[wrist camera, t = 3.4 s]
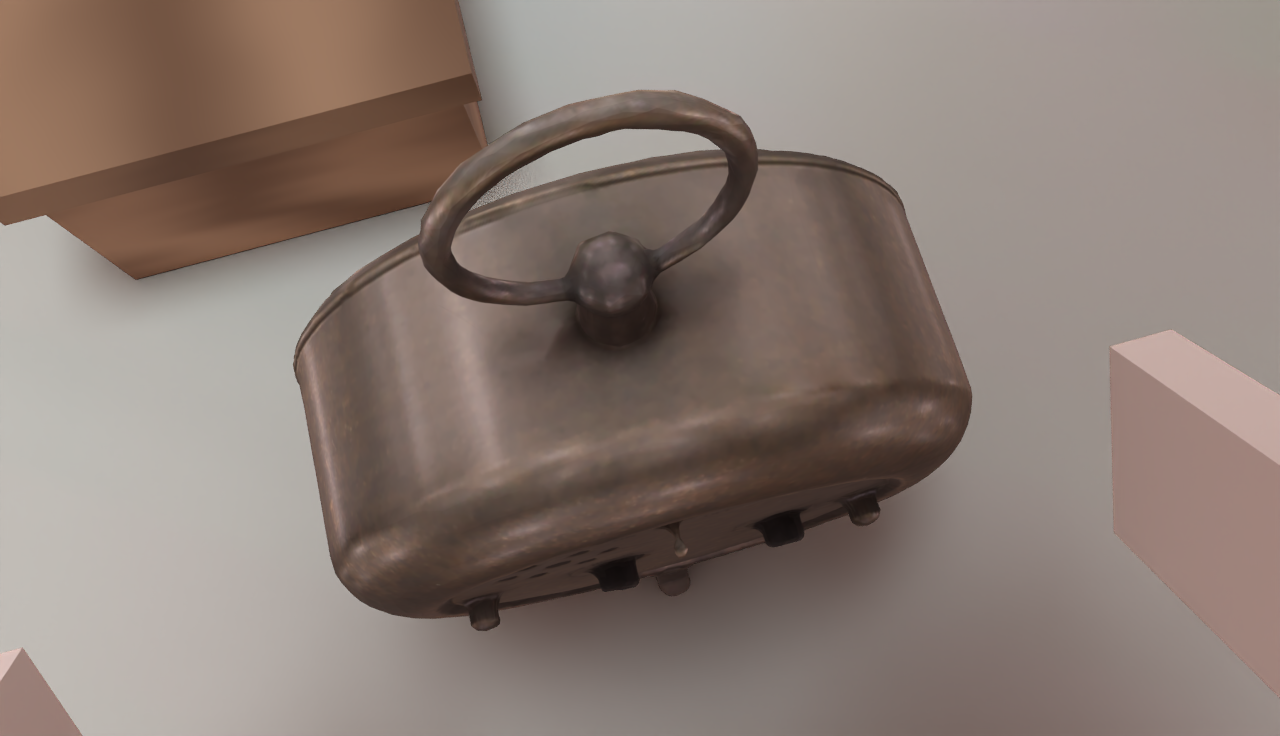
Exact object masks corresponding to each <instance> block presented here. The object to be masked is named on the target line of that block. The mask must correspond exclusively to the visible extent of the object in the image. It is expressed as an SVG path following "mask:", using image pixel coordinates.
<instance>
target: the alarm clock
mask: <svg viewBox="0 0 1280 736" xmlns="http://www.w3.org/2000/svg"><path fill="white" fill-rule="evenodd" d="M621 129H661V130H670V131H685V132H689V133H694V134H698V135H700V136H702V137H705V138H707V139H709V140H710V141H712V142H713V143H714V144H715V145H717V146H718V147H719V148H720V149H722V150H706V151H694V152H688V153H681V154H675V155H668V156H660V157H651V158H647V159H643V160H639V161H634V162H630V163H625V164H619V165H615V166H610V167H606V168H601V169H597V170H592V171H588V172H584V173H579V174H576V175H573V176H569V177H566V178H563V179H560V180H556V181H553V182H550V183H547V184H543V185H540V186H537V187H534V188H530V189H527V190H524V191H521V192H518V193H514V194H511V195H509V196H506V197H504V198H501V199H499V200H496V201H493V202H491V203H488V204H486V205H483V206H481V207H478V208H476V209H473V210H471V211H469V210H470V209H471V207H472V206H473V205H474V204H475V203H476V202H477V200H478V199H479V198H480V197H481V196H483V195H484V194H485V193H486V192H487V191H488V190H490V189H491V188H492V187H493V186H495V185H496V184H497V183H498V182H500V181H501V180H502V179H503V178H505V177H506V176H508V175H509V174H511V173H513V172H514V171H516V170H517V169H519V168H521V167H523V166H525V165H527V164H529V163H531V162H533V161H535V160H537V159H538V158H540V157H542V156H544V155H546V154H547V153H549V152H551V151H554V150H556V149H559V148H561V147H564V146H567V145H569V144H572V143H574V142H577V141H579V140H582V139H586V138H591V137H596V136H600V135H603V134H605V133H608V132H611V131H616V130H621ZM468 211H469V212H468ZM293 367H294V372H295V376H296V379H297V382H298V383H299V385H300V389H301V394H302V399H303V403H304V408H305V414H306V420H307V426H308V431H309V437H310V443H311V449H312V455H313V460H314V465H315V471H316V476H317V482H318V488H319V494H320V499H321V505H322V511H323V517H324V523H325V528H326V534H327V540H328V546H329V552H330V557H331V560H332V564H333V567H334V570H335V574H336V575H337V577H338V578H339V580H340V581H341V583H342V584H343V585H344V586H345V587H346V588H347V589H348V590H349V591H350V592H351V593H352V594H353V595H354V596H355V597H356V598H357V599H359V600H360V601H361V602H363V603H365V604H367V605H368V606H370V607H373V608H375V609H378V610H381V611H383V612H386V613H389V614H392V615H397V616H403V617H410V618H428V619H436V618H447V617H460V616H468V615H470V621H471V626H472V627H474V628H475V629H476V630H478V631H488V630H490V629H492V628H494V627H497V626H498V625H499V624H500V617H499V614H498V610H504V609H509V608H514V607H519V606H524V605H529V604H534V603H538V602H543V601H548V600H552V599H556V598H561V597H565V596H570V595H574V594H579V593H583V592H588V591H592V590H596V589H600V588H601V589H602V591H604V592H607V591H614V590H624V589H628V588H632V587H636V585H637V584H638V583H639V578H643V577H647V576H656V578H657V581H658V584H659V587H660V589H661V590H662V591H663V592H664V593H665V594H667V595H669V596H677V595H679V594H681V593H683V592H685V591H686V590H687V589H688V588H689V586H690V579H689V576H688V571H687V568H688V567H690V566H691V565H693V564H695V563H698V562H701V561H705V560H708V559H711V558H715V557H718V556H722V555H725V554H729V553H732V552H735V551H739V550H742V549H745V548H748V547H752V546H755V545H758V544H762V543H766V544H767V545H768V546H770V547H778V546H782V545H785V544H788V543H793V542H797V541H799V540H801V539H802V538H803V537H804V530H805V529H809V528H812V527H814V526H817V525H820V524H822V523H825V522H827V521H831V520H834V519H837V518H840V517H842V516H845V515H847V514H849V516H850V519H851V521H852V523H853V524H855V525H857V526H867V525H869V524H871V523H873V522H874V521H875V520H876V519H877V518H878V517H879V514H880V507H879V505H878V503H877V502H880V501H882V500H884V499H887V498H889V497H891V496H893V495H895V494H897V493H899V492H901V491H903V490H905V489H907V488H909V487H911V486H912V485H914V484H916V483H918V482H919V481H921V480H922V479H924V478H925V477H927V476H928V475H929V474H931V473H932V472H933V471H934V470H936V469H937V468H938V467H939V466H940V465H941V464H943V463H944V462H945V461H946V460H947V459H948V458H949V456H950V455H951V454H952V453H953V451H954V450H955V449H956V447H957V446H958V444H959V443H960V441H961V439H962V437H963V434H964V432H965V430H966V427H967V425H968V421H969V417H970V413H971V405H972V391H971V387H970V384H969V381H968V379H967V376H966V373H965V370H964V367H963V365H962V362H961V359H960V357H959V354H958V351H957V349H956V346H955V343H954V340H953V338H952V335H951V333H950V330H949V327H948V325H947V322H946V320H945V317H944V315H943V312H942V309H941V307H940V304H939V301H938V299H937V296H936V294H935V291H934V288H933V286H932V283H931V280H930V278H929V275H928V273H927V270H926V267H925V265H924V262H923V259H922V257H921V254H920V252H919V249H918V246H917V244H916V241H915V238H914V236H913V233H912V230H911V228H910V225H909V222H908V220H907V217H906V213H905V209H904V206H903V203H902V201H901V199H900V197H899V196H898V193H897V191H896V190H895V189H894V188H893V187H891V186H890V185H889V184H887V183H886V182H885V181H884V180H883V179H882V178H880V177H879V176H877V175H875V174H873V173H871V172H869V171H867V170H865V169H862V168H860V167H857V166H855V165H852V164H849V163H847V162H844V161H841V160H837V159H833V158H830V157H826V156H818V155H814V154H809V153H801V152H792V151H769V150H761V149H757V147H756V142H755V140H754V137H753V135H752V132H751V130H750V128H749V127H748V125H747V124H746V123H745V121H744V120H743V119H742V118H741V116H739V115H737V114H736V113H734V112H731V111H729V110H727V109H725V108H722V107H720V106H718V105H716V104H714V103H711V102H709V101H707V100H705V99H702V98H699V97H696V96H692V95H689V94H686V93H682V92H679V91H676V90H668V91H661V90H636V91H630V92H625V93H619V94H614V95H609V96H605V97H600V98H595V99H590V100H586V101H581V102H577V103H573V104H568V105H566V106H563V107H561V108H558V109H556V110H553V111H551V112H549V113H546V114H544V115H541V116H539V117H536V118H534V119H531V120H529V121H527V122H524V123H522V124H521V125H519V126H517V127H516V128H514V129H512V130H511V131H509V132H507V133H506V134H504V135H503V136H501V137H500V138H498V139H497V140H495V141H494V142H492V143H491V144H489V145H488V146H486V147H485V148H483V149H482V150H480V151H479V152H477V153H476V154H474V155H473V156H471V157H470V158H468V159H467V160H465V161H464V162H462V163H461V164H460V165H459V166H458V167H457V168H456V169H455V170H454V172H453V173H452V174H451V175H450V176H449V177H448V179H447V180H446V181H445V182H444V183H443V184H442V186H441V187H440V188H439V189H438V190H437V192H436V194H435V196H434V198H433V200H432V202H431V204H430V205H429V207H428V209H427V211H426V213H425V215H424V216H423V218H422V220H421V231H420V234H419V235H417V236H415V237H413V238H411V239H409V240H408V241H406V242H404V243H402V244H401V245H399V246H397V247H396V248H394V249H392V250H390V251H389V252H387V253H385V254H384V255H382V256H380V257H379V258H377V259H376V260H374V261H372V262H371V263H369V264H368V265H366V266H364V267H363V268H361V269H360V270H358V271H356V272H355V273H354V274H353V275H352V276H351V277H350V278H349V279H348V280H346V281H345V282H344V283H343V284H341V285H340V286H339V287H337V288H336V289H335V290H334V291H333V292H332V293H331V295H330V297H328V298H327V299H326V300H325V301H324V303H323V304H322V305H321V306H320V308H319V309H318V311H317V312H316V313H315V315H314V316H313V317H312V319H311V320H310V322H309V323H308V325H307V326H306V328H305V329H304V331H303V332H302V334H301V336H300V339H299V341H298V343H297V346H296V350H295V355H294V363H293Z"/></svg>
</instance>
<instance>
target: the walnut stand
mask: <svg viewBox="0 0 1280 736" xmlns="http://www.w3.org/2000/svg"><path fill="white" fill-rule="evenodd" d="M480 100H482V98H481V94H480V90H479V86H478V81H477V77H476V73H475V69H474V65H473V61H472V56H471V52H470V48H469V44H468V40H467V36H466V32H465V27H464V23H463V19H462V15H461V11H460V7H459V2H458V0H0V222H1V223H2V224H4V225H9V224H13V223H17V222H20V221H24V220H28V219H32V218H36V217H39V216H43V215H47V216H48V217H50V218H51V219H52V220H54V221H55V222H56V223H58V224H59V225H61V226H62V227H63V228H65V229H66V230H68V231H69V232H70V233H72V234H73V235H74V236H76V237H77V238H79V239H80V240H81V241H83V242H84V243H86V244H87V245H88V246H90V247H91V248H92V249H94V250H95V251H97V252H98V253H99V254H101V255H102V256H104V257H105V258H106V259H108V260H109V261H110V262H112V263H113V264H115V265H116V266H117V267H119V268H120V269H122V270H123V271H124V272H126V273H127V274H128V275H130V276H131V277H133V278H134V279H135V280H136V279H139V278H143V277H147V276H151V275H155V274H158V273H162V272H166V271H170V270H173V269H177V268H181V267H185V266H189V265H192V264H196V263H200V262H204V261H207V260H211V259H215V258H219V257H223V256H226V255H230V254H234V253H238V252H241V251H245V250H249V249H253V248H256V247H260V246H264V245H268V244H272V243H275V242H279V241H283V240H287V239H290V238H294V237H298V236H302V235H306V234H309V233H313V232H317V231H321V230H324V229H328V228H332V227H336V226H340V225H343V224H347V223H351V222H355V221H358V220H362V219H366V218H370V217H374V216H377V215H381V214H385V213H389V212H392V211H396V210H400V209H404V208H408V207H411V206H415V205H419V204H423V203H426V202H430V201H432V200H433V198H434V196H435V194H436V192H437V190H438V189H439V188H440V187H441V186H442V184H443V183H444V182H445V181H446V180H447V179H448V177H449V176H450V175H451V174H452V173H453V172H454V170H455V169H456V168H457V167H458V166H459V165H460V164H461V163H462V162H464V161H465V160H467V159H468V158H470V157H471V156H473V155H474V154H476V153H477V152H479V151H480V150H482V149H483V148H485V147H486V146H488V145H487V141H486V137H485V132H484V128H483V124H482V120H481V116H480V111H479V107H478V103H477V101H480Z"/></svg>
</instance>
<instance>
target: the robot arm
mask: <svg viewBox="0 0 1280 736" xmlns="http://www.w3.org/2000/svg"><path fill="white" fill-rule="evenodd" d="M1109 348H1110V391H1111V433H1112V476H1113V518H1114V533H1115V534H1116V535H1117V536H1118V537H1119V538H1120V539H1121V540H1122V541H1123V542H1124V543H1125V544H1126V545H1127V546H1128V547H1129V548H1130V549H1131V550H1132V551H1133V552H1134V553H1135V554H1136V555H1137V556H1138V557H1139V558H1140V559H1141V560H1142V561H1143V562H1144V563H1145V564H1146V565H1147V566H1148V567H1149V568H1150V569H1151V570H1152V571H1153V572H1154V573H1155V574H1156V575H1157V576H1158V577H1159V578H1160V579H1161V580H1162V581H1163V582H1164V583H1165V584H1166V585H1167V586H1168V587H1169V588H1170V589H1171V590H1172V591H1173V592H1174V593H1175V594H1176V595H1177V596H1178V597H1179V598H1180V599H1181V600H1182V601H1183V602H1184V603H1185V604H1186V605H1187V606H1188V607H1189V608H1190V609H1191V610H1192V611H1193V612H1194V613H1195V614H1196V615H1197V616H1198V617H1199V618H1200V619H1201V620H1202V621H1203V622H1204V623H1205V624H1206V625H1207V626H1208V627H1209V628H1210V629H1211V630H1212V631H1213V632H1214V633H1215V634H1216V635H1217V636H1218V637H1219V638H1220V639H1221V640H1222V641H1223V642H1224V643H1225V644H1226V645H1227V646H1228V647H1229V648H1230V649H1231V650H1232V651H1233V652H1234V653H1235V654H1236V655H1237V656H1238V657H1239V658H1240V659H1241V660H1242V661H1243V662H1244V663H1245V664H1246V665H1247V666H1248V667H1249V668H1250V669H1251V670H1252V671H1253V672H1254V673H1255V674H1256V675H1257V676H1258V677H1259V678H1260V679H1261V680H1262V681H1263V682H1264V683H1265V684H1266V685H1267V686H1268V687H1269V688H1270V689H1271V690H1272V691H1273V692H1274V693H1275V694H1276V695H1277V696H1278V697H1279V698H1280V395H1279V394H1277V393H1275V392H1274V391H1272V390H1270V389H1269V388H1267V387H1265V386H1264V385H1262V384H1261V383H1259V382H1257V381H1256V380H1254V379H1252V378H1251V377H1249V376H1247V375H1246V374H1244V373H1242V372H1241V371H1239V370H1238V369H1236V368H1234V367H1233V366H1231V365H1229V364H1228V363H1226V362H1224V361H1223V360H1221V359H1219V358H1218V357H1216V356H1215V355H1213V354H1211V353H1210V352H1208V351H1206V350H1205V349H1203V348H1201V347H1200V346H1198V345H1196V344H1195V343H1193V342H1191V341H1190V340H1188V339H1187V338H1185V337H1183V336H1182V335H1180V334H1178V333H1177V332H1175V331H1173V330H1172V329H1171V330H1167V331H1163V332H1160V333H1156V334H1153V335H1149V336H1145V337H1142V338H1138V339H1135V340H1131V341H1127V342H1124V343H1120V344H1116V345H1113V346H1109ZM0 736H82V734H81V733H80V731H79V730H78V728H77V727H76V725H75V724H74V722H73V721H72V719H71V718H70V716H69V715H68V713H67V712H66V711H65V709H64V708H63V706H62V705H61V703H60V702H59V700H58V699H57V697H56V696H55V694H54V693H53V691H52V690H51V688H50V687H49V685H48V684H47V683H46V681H45V680H44V678H43V677H42V675H41V674H40V672H39V671H38V669H37V668H36V666H35V665H34V663H33V662H32V660H31V659H30V657H29V656H28V655H27V653H26V652H25V650H24V649H23V647H22V648H19V649H15V650H11V651H8V652H4V653H1V654H0Z"/></svg>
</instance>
